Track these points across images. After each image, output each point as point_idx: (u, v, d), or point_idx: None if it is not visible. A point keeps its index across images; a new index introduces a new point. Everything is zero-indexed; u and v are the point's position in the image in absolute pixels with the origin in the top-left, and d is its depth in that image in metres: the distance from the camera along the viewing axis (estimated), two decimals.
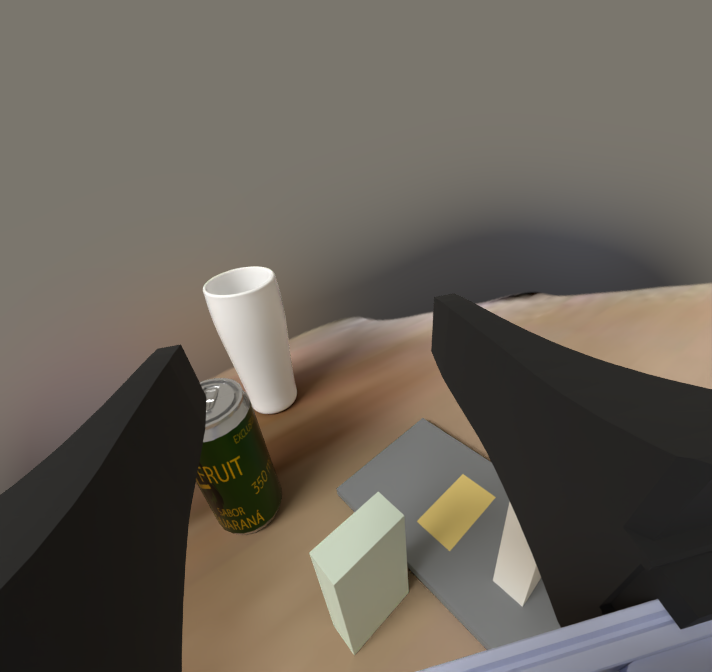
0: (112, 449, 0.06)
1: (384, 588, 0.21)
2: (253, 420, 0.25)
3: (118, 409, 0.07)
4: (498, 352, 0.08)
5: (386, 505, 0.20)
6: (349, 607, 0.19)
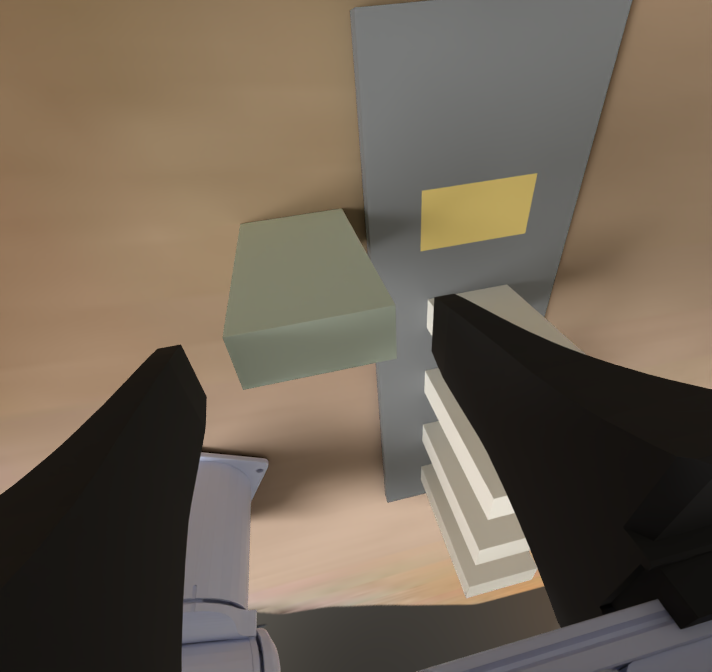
0: (112, 449, 0.06)
1: None
2: None
3: (118, 409, 0.07)
4: (499, 352, 0.08)
5: (387, 333, 0.11)
6: None
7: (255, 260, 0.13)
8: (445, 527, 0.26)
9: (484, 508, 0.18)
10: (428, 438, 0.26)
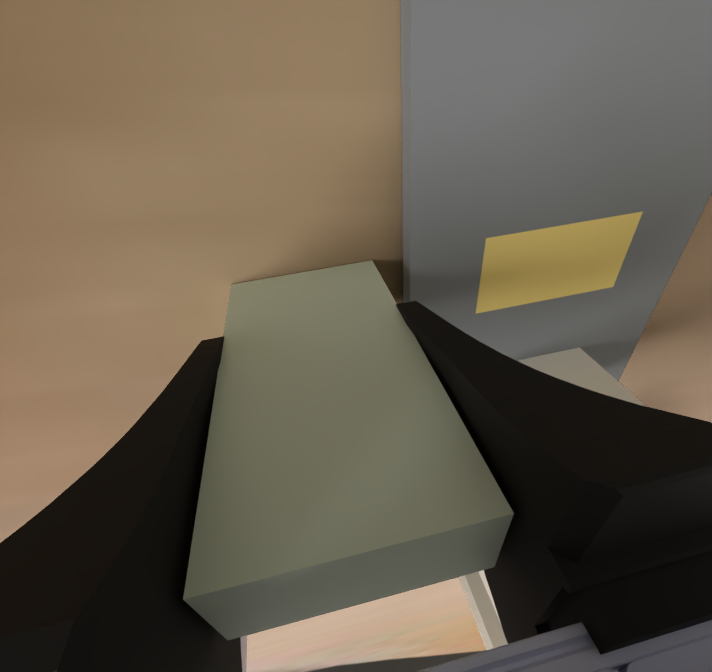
0: (181, 434, 0.06)
1: None
2: None
3: (177, 397, 0.07)
4: (447, 363, 0.07)
5: (488, 545, 0.06)
6: None
7: (251, 365, 0.09)
8: (485, 627, 0.22)
9: None
10: None
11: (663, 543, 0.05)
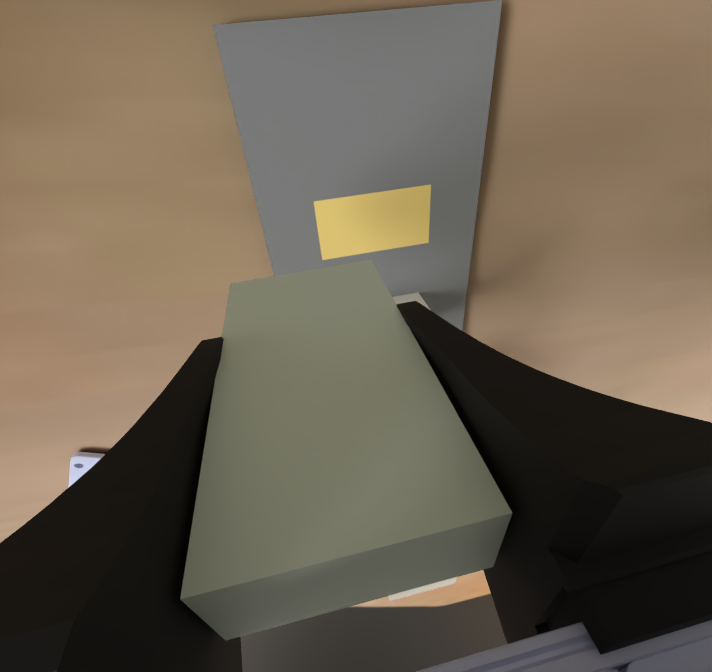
0: (181, 434, 0.06)
1: None
2: None
3: (177, 397, 0.07)
4: (447, 363, 0.07)
5: (486, 545, 0.06)
6: None
7: (250, 364, 0.09)
8: None
9: None
10: None
11: (663, 543, 0.05)
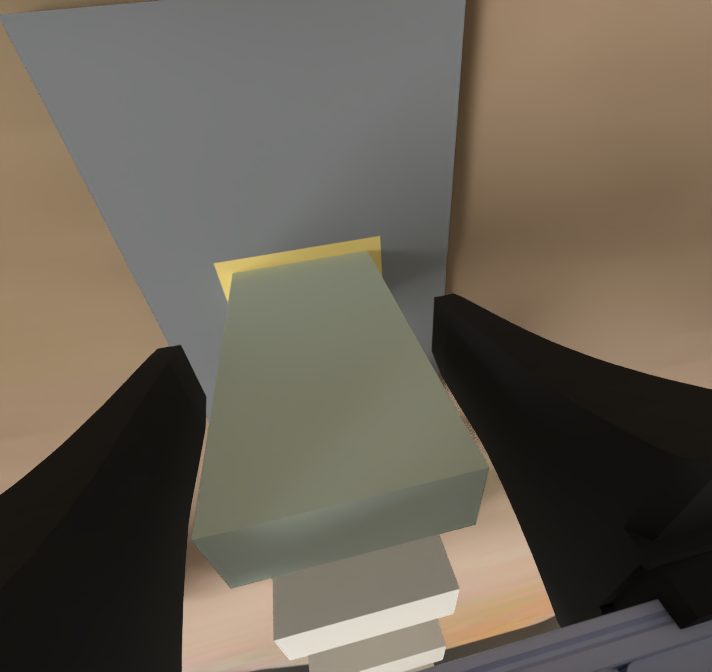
0: (112, 448, 0.06)
1: None
2: None
3: (118, 409, 0.07)
4: (499, 352, 0.08)
5: (467, 500, 0.07)
6: None
7: (251, 345, 0.09)
8: None
9: None
10: None
11: None
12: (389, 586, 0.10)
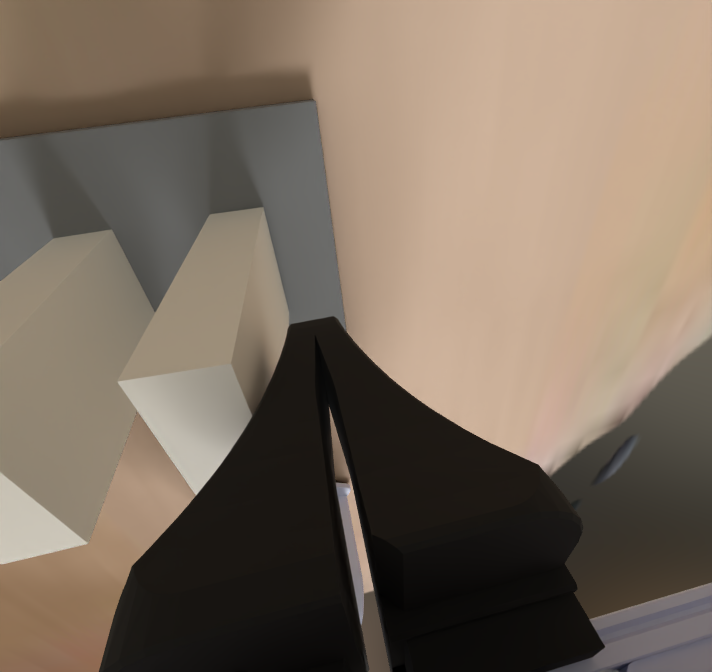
0: (316, 405, 0.06)
1: None
2: None
3: (296, 373, 0.07)
4: (334, 386, 0.07)
5: None
6: None
7: None
8: None
9: None
10: None
11: (497, 590, 0.05)
12: None
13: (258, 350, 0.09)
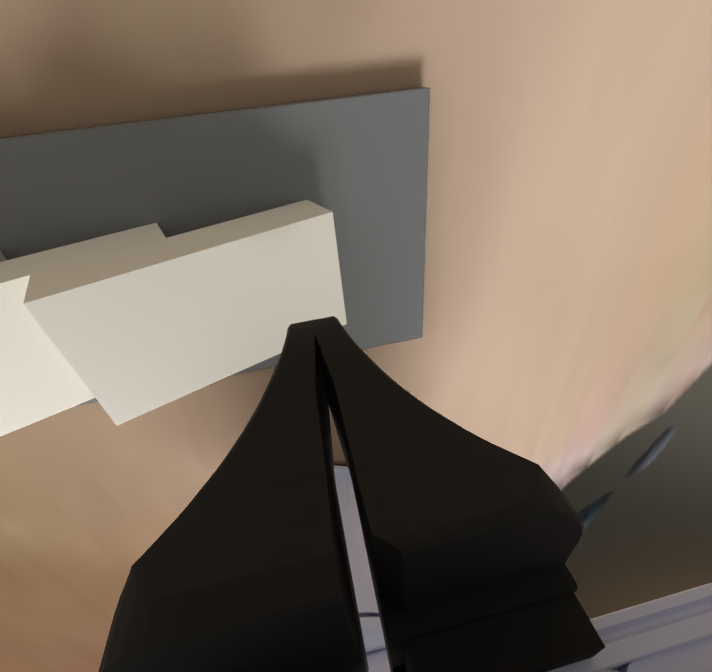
0: (317, 405, 0.06)
1: None
2: None
3: (295, 373, 0.07)
4: (334, 386, 0.07)
5: None
6: None
7: None
8: None
9: None
10: None
11: (497, 590, 0.05)
12: None
13: (133, 317, 0.11)
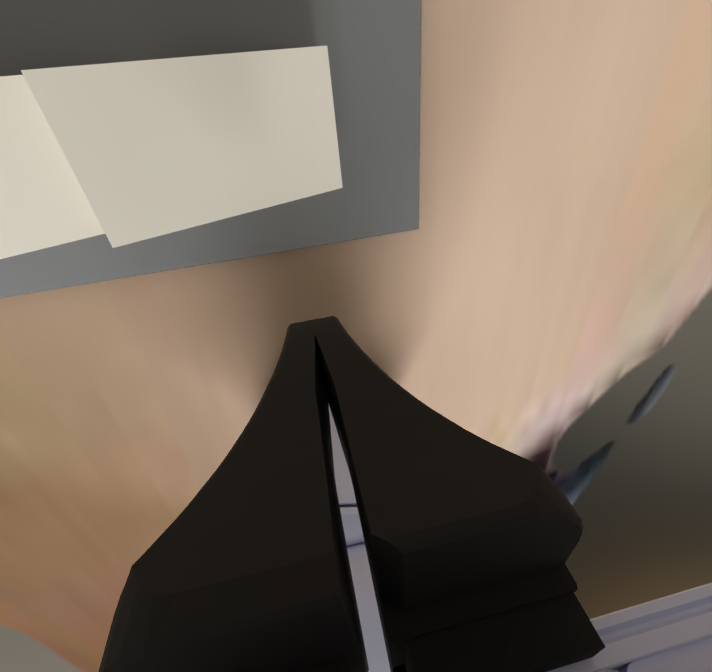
0: (316, 405, 0.06)
1: None
2: None
3: (295, 373, 0.07)
4: (334, 386, 0.07)
5: None
6: None
7: None
8: None
9: None
10: None
11: (497, 590, 0.05)
12: None
13: (129, 119, 0.11)
